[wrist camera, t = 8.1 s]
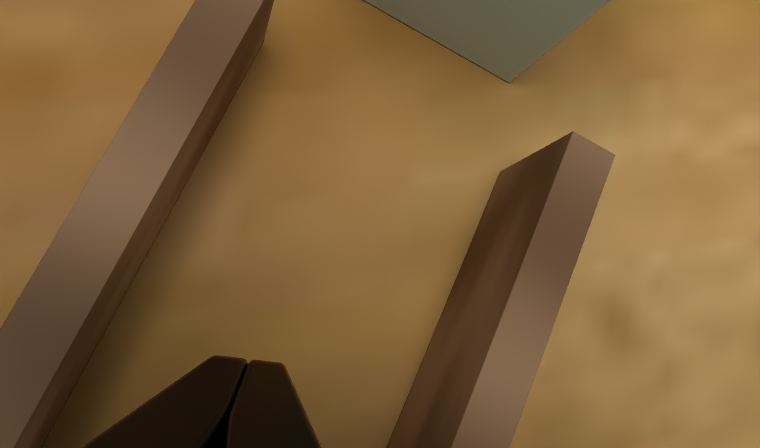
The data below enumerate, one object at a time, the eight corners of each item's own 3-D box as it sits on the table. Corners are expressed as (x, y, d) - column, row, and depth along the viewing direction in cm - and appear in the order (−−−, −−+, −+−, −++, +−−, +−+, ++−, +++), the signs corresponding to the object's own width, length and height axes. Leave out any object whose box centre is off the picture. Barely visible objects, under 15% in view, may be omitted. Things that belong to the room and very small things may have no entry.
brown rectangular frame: (262, 885, 16) (287, 1057, 12) (-190, 739, 14) (-330, 886, 10) (535, 190, 20) (615, 154, 17) (222, 21, 19) (232, -63, 15)
